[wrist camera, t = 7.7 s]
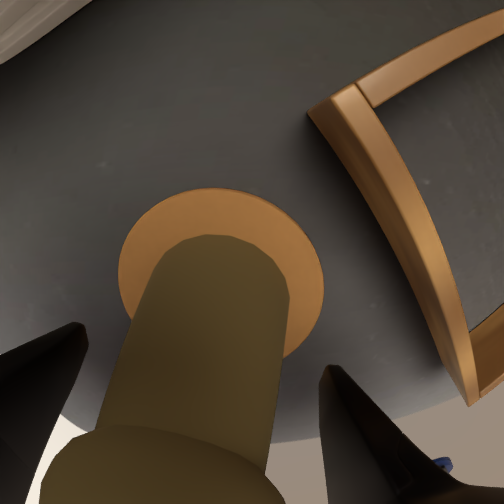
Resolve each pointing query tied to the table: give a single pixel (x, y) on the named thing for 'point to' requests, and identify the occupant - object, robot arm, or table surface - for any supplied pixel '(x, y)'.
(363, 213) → the table surface
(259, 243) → the coaster
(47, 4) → the plate stack
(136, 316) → the pepper shaker
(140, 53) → the table surface
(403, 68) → the wooden frame
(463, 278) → the table surface
